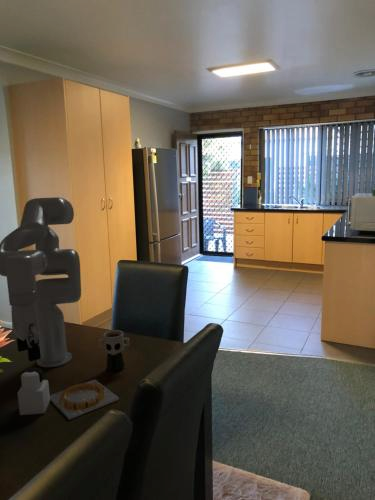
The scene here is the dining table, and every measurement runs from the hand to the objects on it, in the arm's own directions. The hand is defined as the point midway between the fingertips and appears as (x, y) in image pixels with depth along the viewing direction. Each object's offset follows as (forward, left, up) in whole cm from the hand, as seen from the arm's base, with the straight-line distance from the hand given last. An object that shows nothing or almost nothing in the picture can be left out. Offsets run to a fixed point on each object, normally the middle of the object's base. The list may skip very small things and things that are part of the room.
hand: (29, 354), depth 120 cm
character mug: (-7, +31, -17) cm, 37 cm away
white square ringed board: (+5, +13, -17) cm, 22 cm away
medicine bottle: (0, 0, -17) cm, 17 cm away
